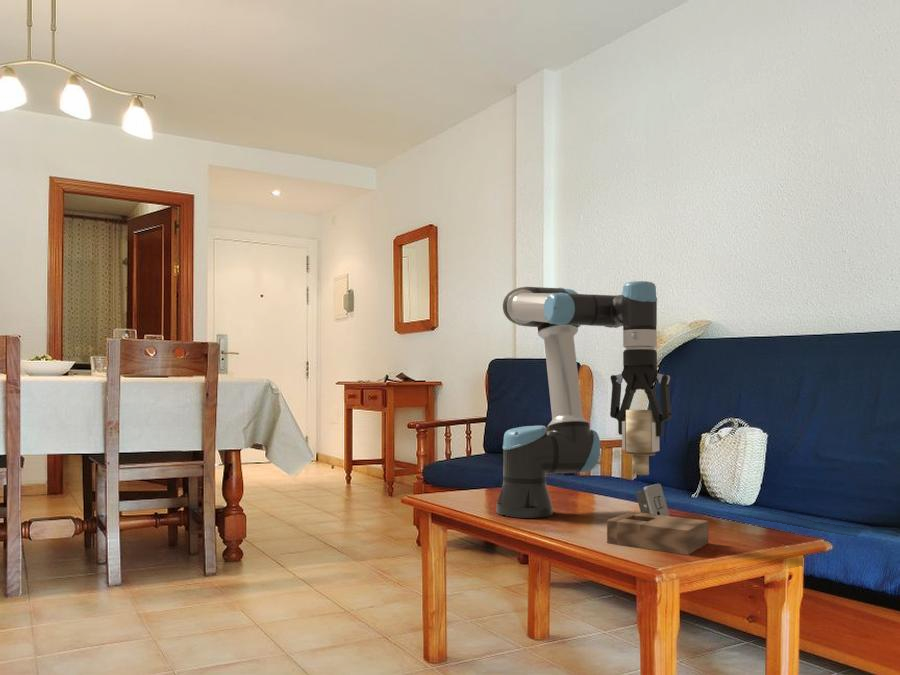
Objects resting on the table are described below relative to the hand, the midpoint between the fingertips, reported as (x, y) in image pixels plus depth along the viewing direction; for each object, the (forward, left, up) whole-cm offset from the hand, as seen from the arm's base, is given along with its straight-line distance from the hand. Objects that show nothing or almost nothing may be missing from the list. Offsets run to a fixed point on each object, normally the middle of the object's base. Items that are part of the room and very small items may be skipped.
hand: (640, 450), depth 168 cm
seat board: (+4, 0, -20) cm, 21 cm away
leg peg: (0, 0, -5) cm, 5 cm away
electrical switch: (-7, +26, -21) cm, 34 cm away
